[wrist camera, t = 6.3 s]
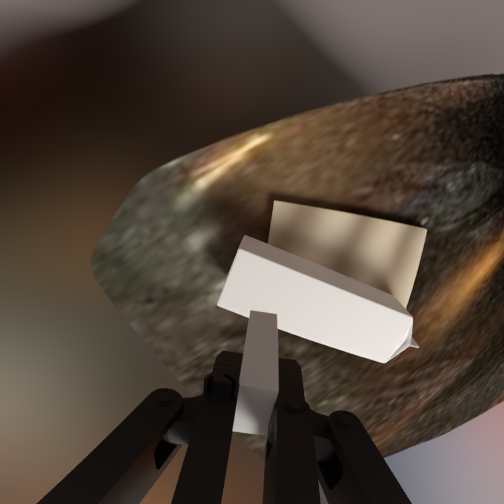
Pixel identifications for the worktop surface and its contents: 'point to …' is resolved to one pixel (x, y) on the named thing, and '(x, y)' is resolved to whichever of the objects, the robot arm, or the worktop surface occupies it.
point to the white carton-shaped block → (316, 302)
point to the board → (351, 245)
